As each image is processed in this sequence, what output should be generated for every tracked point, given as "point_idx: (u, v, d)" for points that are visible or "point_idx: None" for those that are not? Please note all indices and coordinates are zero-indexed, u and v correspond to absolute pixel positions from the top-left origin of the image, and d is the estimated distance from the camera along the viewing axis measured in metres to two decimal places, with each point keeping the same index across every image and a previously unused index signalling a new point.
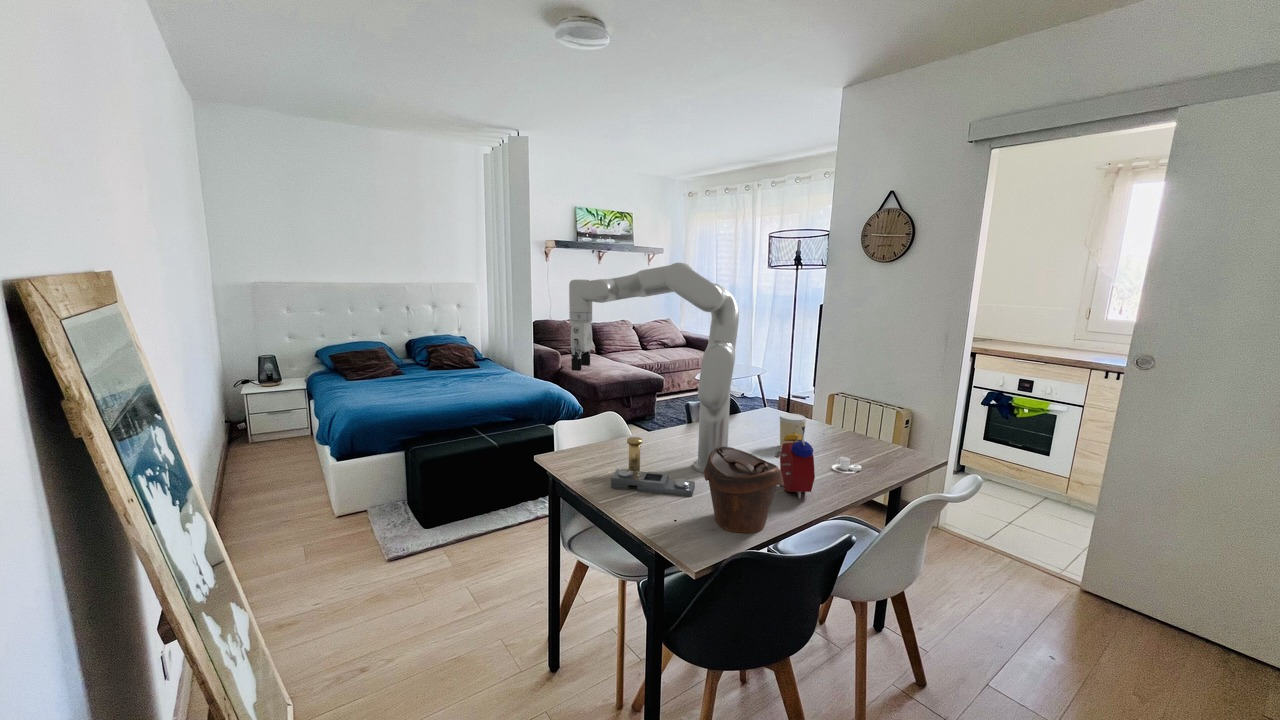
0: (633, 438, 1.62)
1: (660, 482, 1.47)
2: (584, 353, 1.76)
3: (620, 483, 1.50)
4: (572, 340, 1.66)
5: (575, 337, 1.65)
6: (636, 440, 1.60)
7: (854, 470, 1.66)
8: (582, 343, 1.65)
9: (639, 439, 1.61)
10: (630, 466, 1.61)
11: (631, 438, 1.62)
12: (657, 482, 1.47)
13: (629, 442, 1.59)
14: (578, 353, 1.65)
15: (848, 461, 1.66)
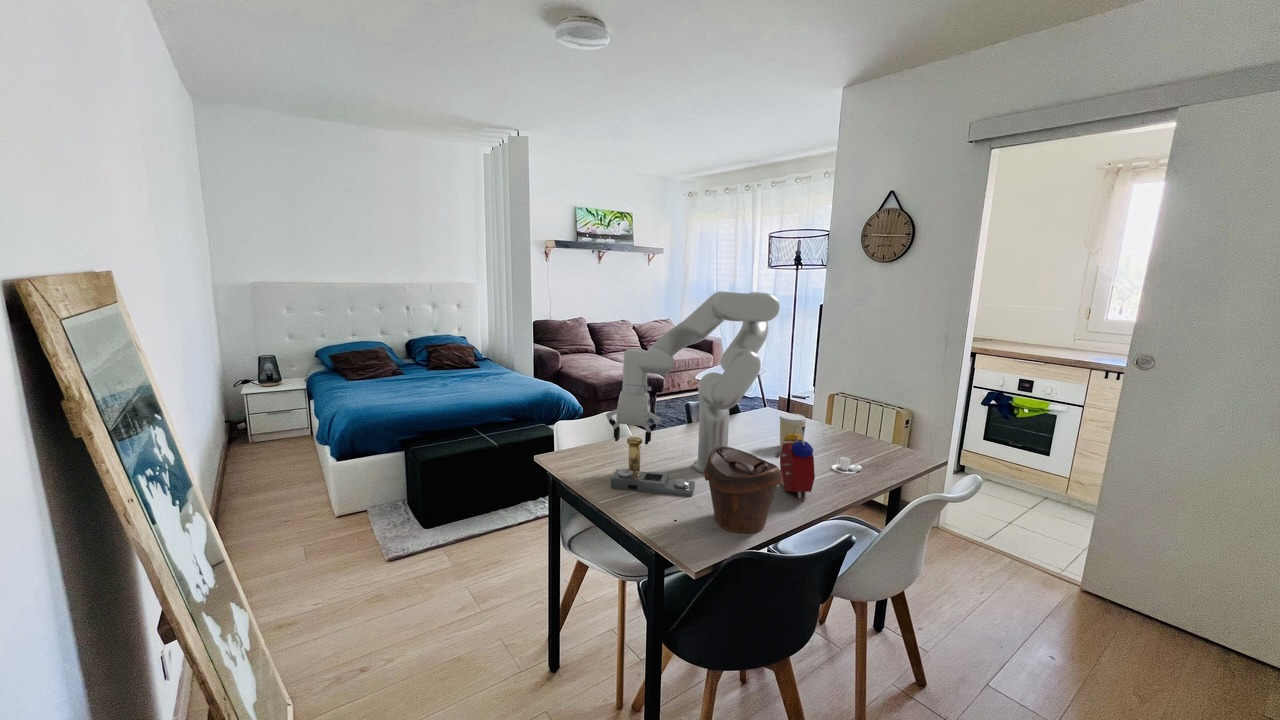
0: (633, 438, 1.62)
1: (660, 482, 1.47)
2: (617, 427, 1.61)
3: (620, 483, 1.50)
4: (648, 413, 1.57)
5: (649, 409, 1.58)
6: (636, 440, 1.60)
7: (854, 470, 1.66)
8: None
9: (639, 439, 1.61)
10: (630, 466, 1.61)
11: (631, 438, 1.62)
12: (657, 482, 1.47)
13: (629, 442, 1.59)
14: (650, 425, 1.60)
15: (848, 461, 1.66)
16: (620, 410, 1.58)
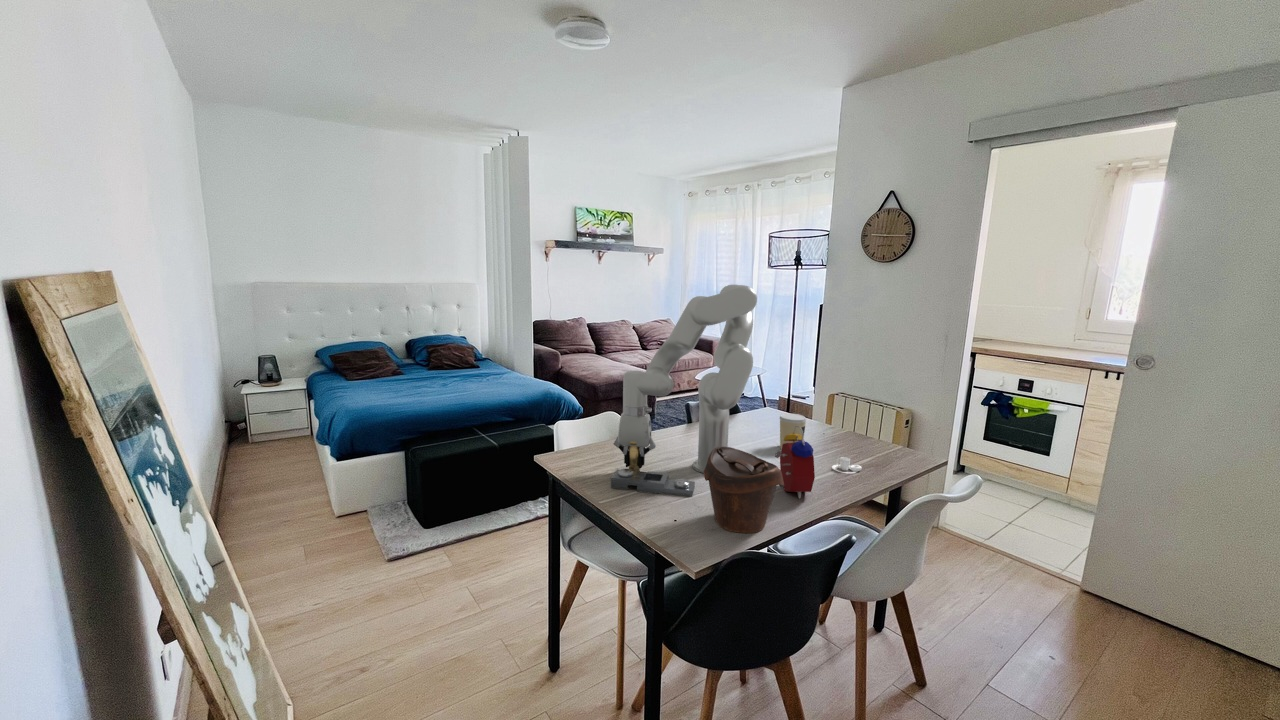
0: None
1: (660, 482, 1.47)
2: (628, 453, 1.62)
3: (620, 483, 1.50)
4: (649, 435, 1.58)
5: (650, 430, 1.59)
6: None
7: (854, 470, 1.66)
8: None
9: None
10: (630, 466, 1.61)
11: None
12: (657, 482, 1.47)
13: None
14: (645, 449, 1.62)
15: (848, 461, 1.66)
16: (621, 432, 1.59)
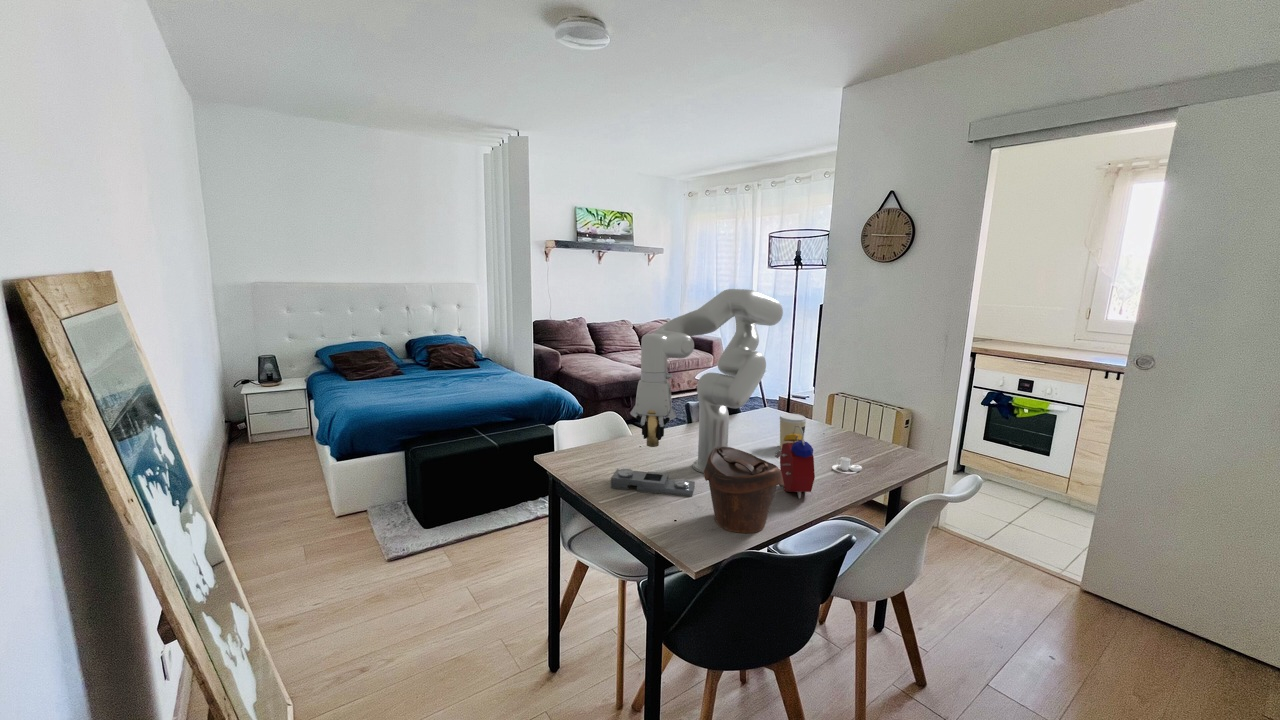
0: None
1: (660, 482, 1.47)
2: (646, 423, 1.49)
3: (620, 483, 1.50)
4: (669, 403, 1.46)
5: (670, 399, 1.46)
6: None
7: (854, 470, 1.66)
8: None
9: None
10: (648, 438, 1.48)
11: None
12: (657, 482, 1.47)
13: None
14: (664, 419, 1.49)
15: (848, 461, 1.66)
16: (639, 400, 1.47)
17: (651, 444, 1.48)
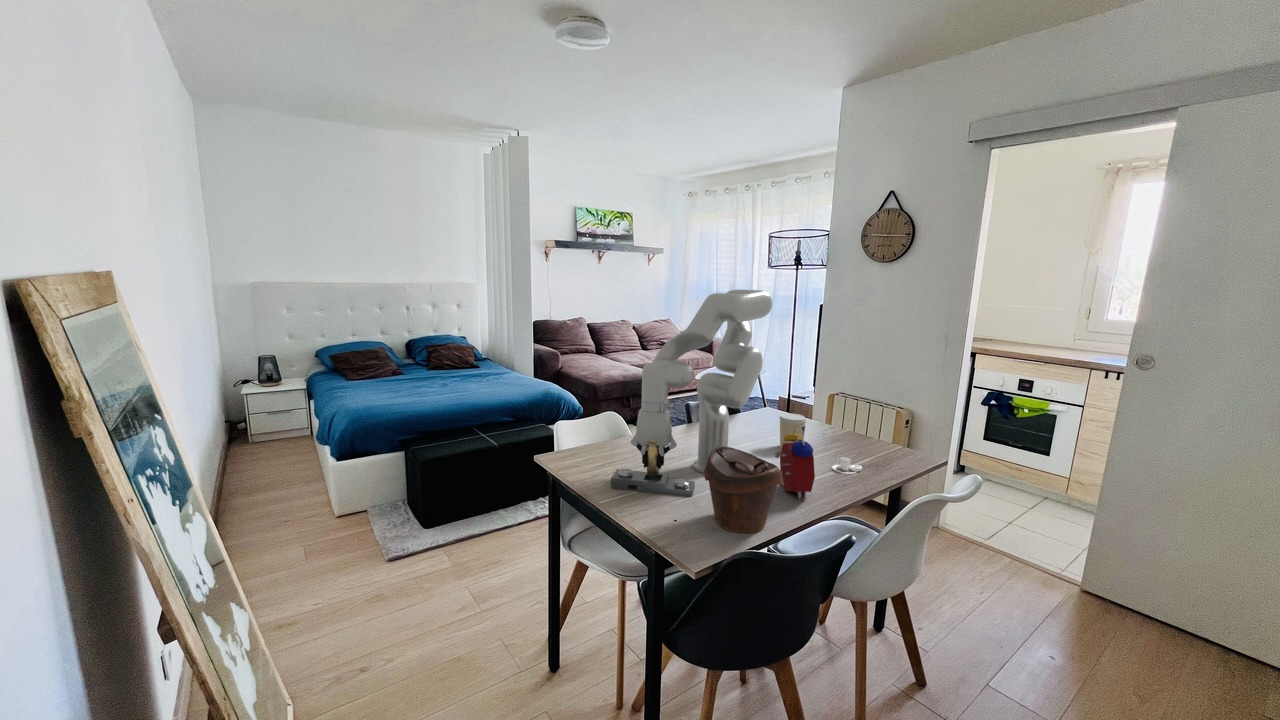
0: None
1: (660, 482, 1.47)
2: (646, 452, 1.50)
3: (620, 483, 1.50)
4: (670, 433, 1.46)
5: (670, 428, 1.47)
6: None
7: (855, 470, 1.66)
8: (671, 432, 1.50)
9: None
10: (648, 467, 1.49)
11: None
12: (657, 482, 1.47)
13: (648, 441, 1.47)
14: (664, 448, 1.50)
15: (849, 461, 1.66)
16: (640, 430, 1.47)
17: (651, 473, 1.49)
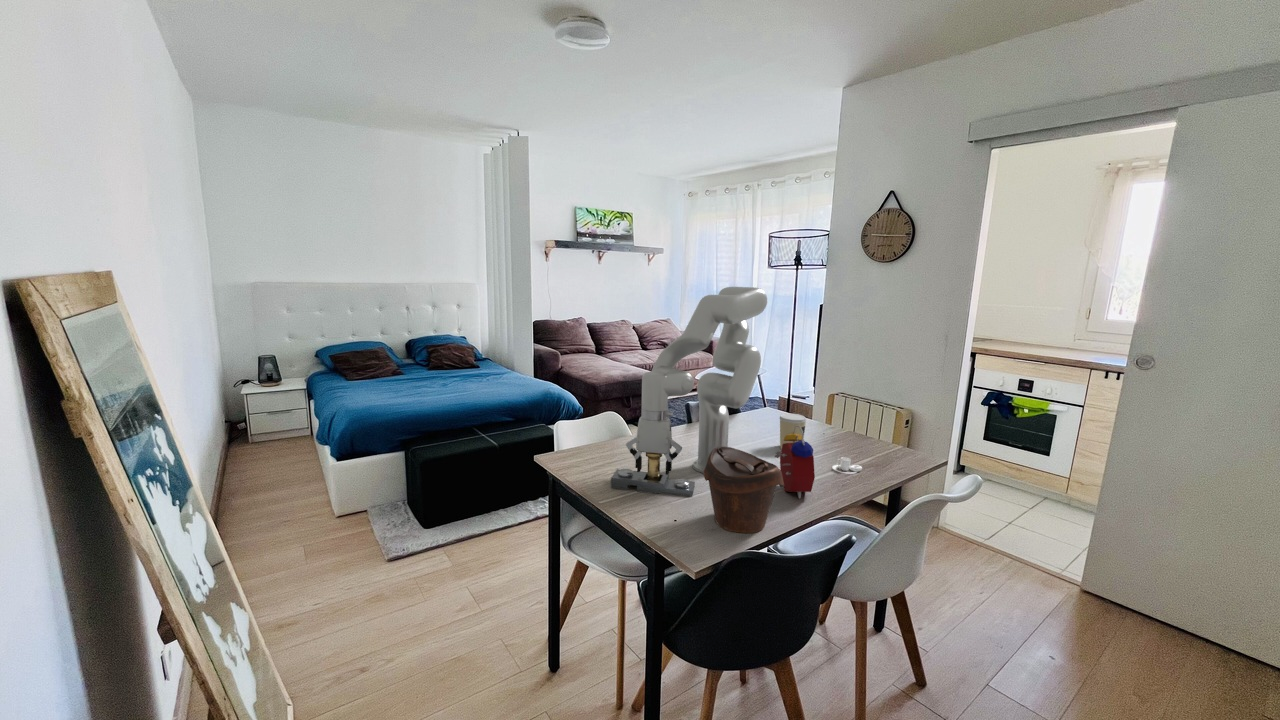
0: None
1: (660, 482, 1.47)
2: (639, 457, 1.51)
3: (620, 483, 1.50)
4: (670, 440, 1.47)
5: (670, 436, 1.48)
6: (656, 453, 1.49)
7: (855, 470, 1.66)
8: None
9: None
10: None
11: None
12: (657, 482, 1.47)
13: (648, 455, 1.48)
14: (670, 453, 1.50)
15: (849, 461, 1.66)
16: (640, 438, 1.48)
17: None
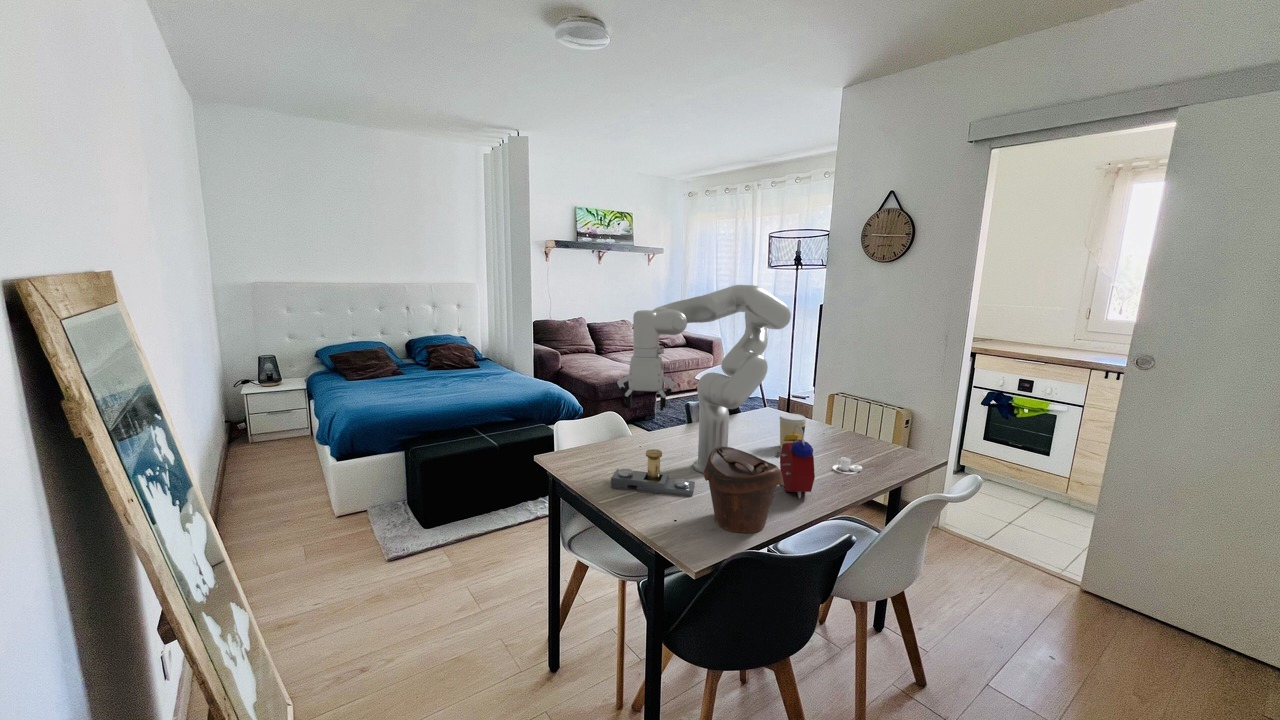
0: (652, 450, 1.51)
1: (660, 482, 1.47)
2: (630, 394, 1.52)
3: (620, 483, 1.50)
4: (662, 378, 1.49)
5: (662, 374, 1.50)
6: (656, 453, 1.49)
7: (855, 471, 1.66)
8: None
9: (659, 452, 1.50)
10: None
11: (650, 450, 1.51)
12: (657, 482, 1.47)
13: (648, 455, 1.48)
14: (664, 390, 1.52)
15: (849, 462, 1.66)
16: (632, 376, 1.49)
17: None
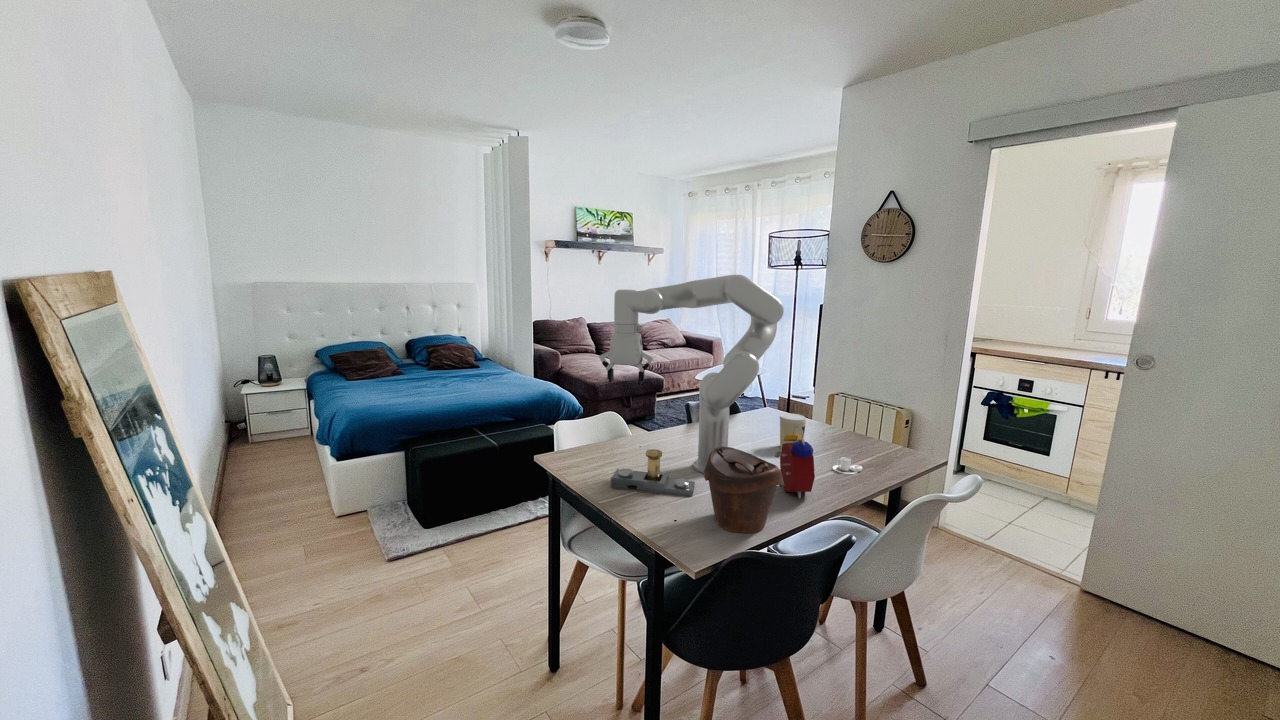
0: (652, 450, 1.51)
1: (660, 482, 1.47)
2: (611, 368, 1.63)
3: (620, 483, 1.50)
4: (640, 353, 1.59)
5: (641, 349, 1.60)
6: (656, 453, 1.49)
7: (855, 471, 1.65)
8: None
9: (659, 452, 1.50)
10: None
11: (650, 450, 1.51)
12: (657, 482, 1.47)
13: (648, 455, 1.48)
14: (642, 365, 1.62)
15: (849, 462, 1.66)
16: (613, 351, 1.60)
17: None
